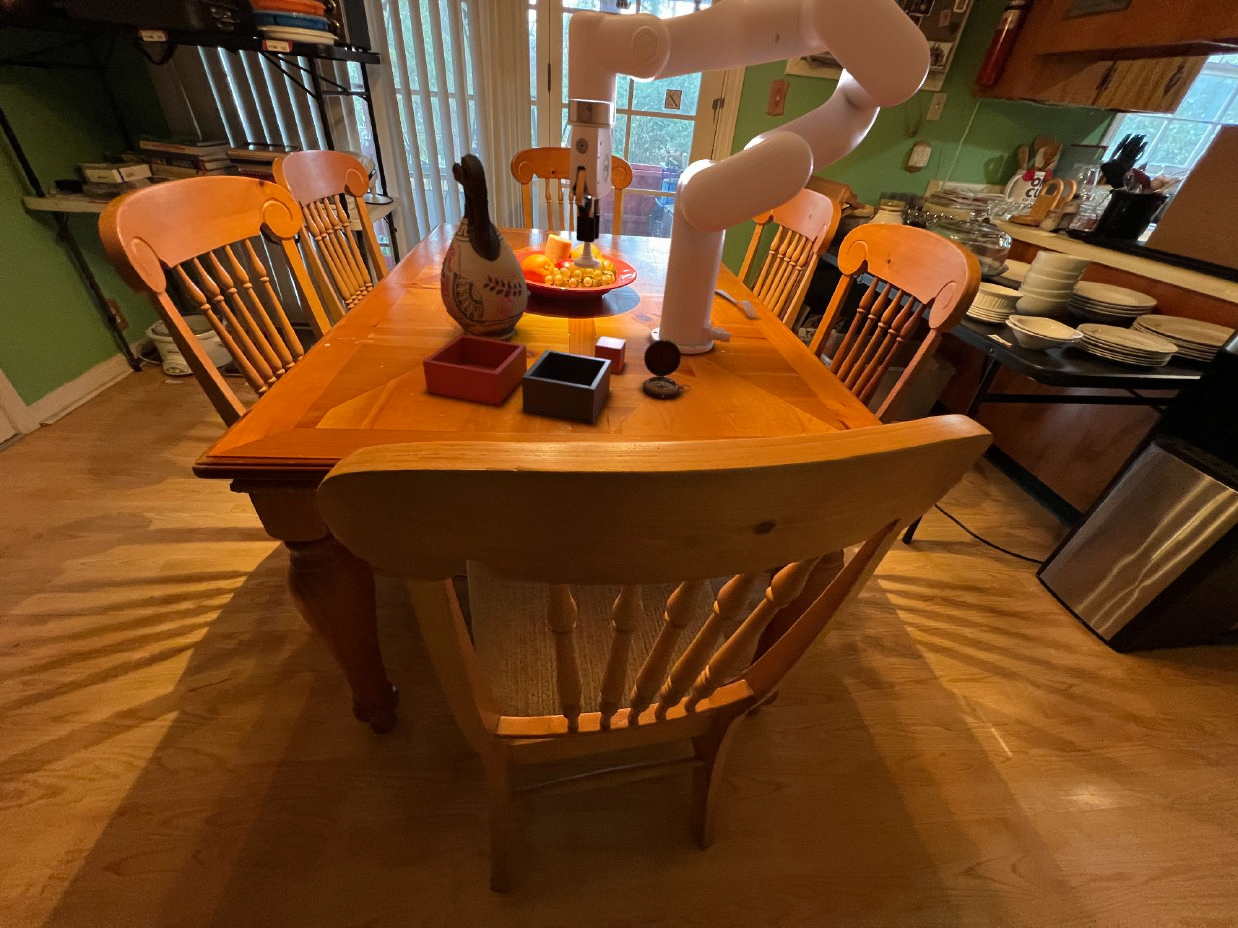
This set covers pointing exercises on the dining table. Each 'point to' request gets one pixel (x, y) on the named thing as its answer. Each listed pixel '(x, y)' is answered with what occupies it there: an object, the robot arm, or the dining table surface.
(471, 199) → the ceramic jug
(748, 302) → the fork
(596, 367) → the charcoal bin
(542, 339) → the dining table surface
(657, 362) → the compass
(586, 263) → the chess piece
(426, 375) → the red bin
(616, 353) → the red block
